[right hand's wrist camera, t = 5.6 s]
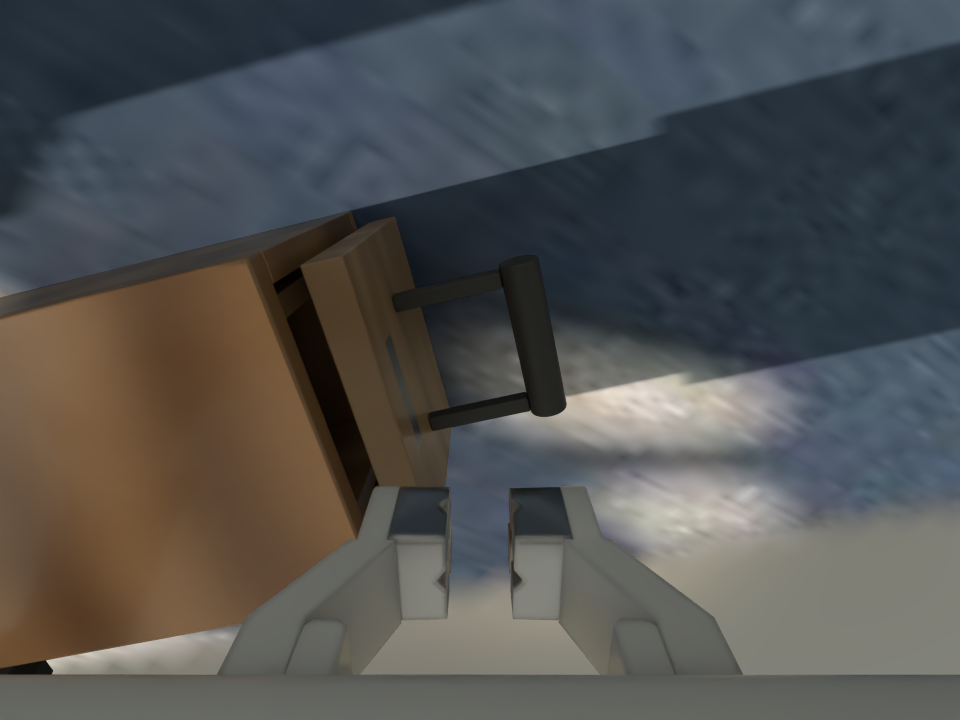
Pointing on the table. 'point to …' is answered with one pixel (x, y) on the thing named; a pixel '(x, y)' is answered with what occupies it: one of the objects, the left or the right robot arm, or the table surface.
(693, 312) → the table surface
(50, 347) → the cabinet
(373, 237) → the drawer
